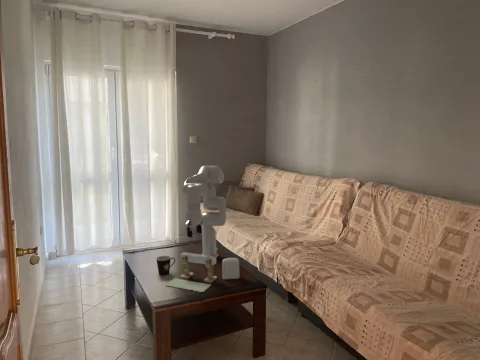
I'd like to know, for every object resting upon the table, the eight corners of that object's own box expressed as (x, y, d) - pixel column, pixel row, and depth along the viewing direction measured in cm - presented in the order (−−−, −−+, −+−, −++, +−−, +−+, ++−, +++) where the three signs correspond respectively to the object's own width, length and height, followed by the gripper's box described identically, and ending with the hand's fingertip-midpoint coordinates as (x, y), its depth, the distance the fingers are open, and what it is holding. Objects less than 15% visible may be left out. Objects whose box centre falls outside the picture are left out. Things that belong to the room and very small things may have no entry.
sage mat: (175, 279, 212) (175, 278, 211) (211, 285, 202) (211, 284, 202) (165, 285, 202) (165, 284, 202) (202, 292, 193) (202, 291, 193)
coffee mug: (157, 277, 215) (156, 261, 214) (156, 272, 223) (156, 256, 222) (176, 275, 218) (176, 259, 217) (175, 270, 226) (174, 254, 225)
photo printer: (222, 279, 210) (222, 259, 209) (222, 277, 214) (221, 257, 213) (239, 279, 211) (239, 258, 210) (239, 276, 215) (238, 256, 214)
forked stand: (186, 273, 221) (185, 252, 219) (217, 278, 213) (216, 256, 211) (180, 277, 214) (179, 256, 212) (211, 282, 206) (211, 260, 204)
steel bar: (184, 258, 218) (183, 252, 218) (216, 263, 210) (216, 256, 209) (180, 260, 214) (180, 254, 214) (213, 265, 206) (213, 258, 206)
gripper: (196, 203, 217) (197, 230, 219) (179, 208, 202) (180, 238, 204) (207, 204, 214) (207, 232, 216) (190, 209, 198) (191, 239, 200)
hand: (194, 234), depth 210 cm, fingers open, 9 cm apart
